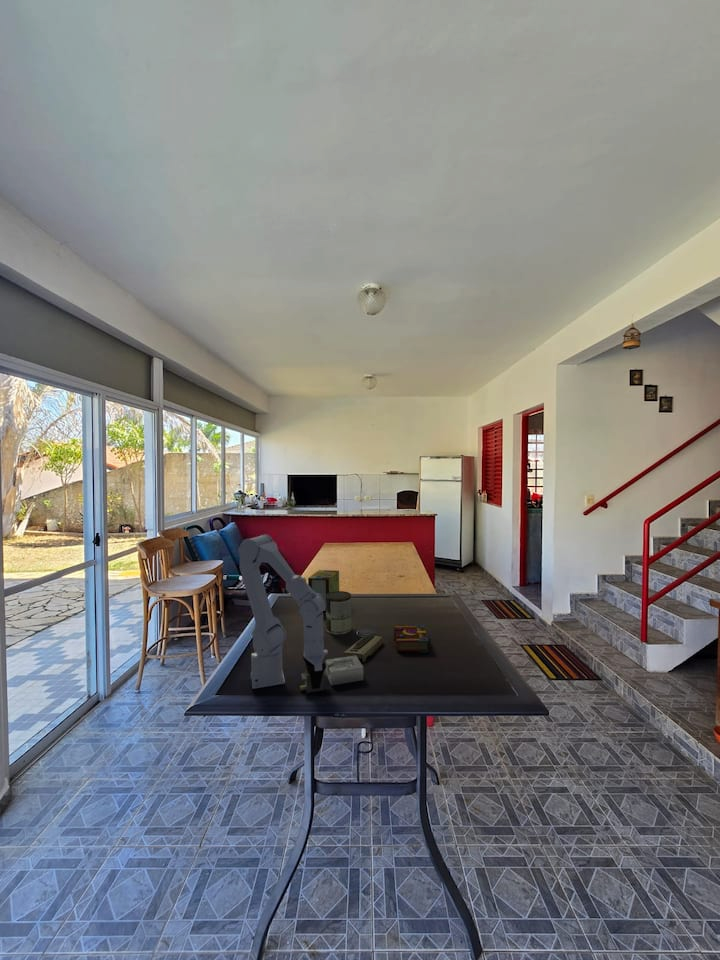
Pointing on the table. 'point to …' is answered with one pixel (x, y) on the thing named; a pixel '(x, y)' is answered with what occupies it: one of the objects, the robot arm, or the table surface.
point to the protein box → (324, 582)
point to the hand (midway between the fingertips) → (314, 683)
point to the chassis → (344, 670)
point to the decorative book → (410, 638)
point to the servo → (307, 680)
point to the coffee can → (338, 612)
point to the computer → (364, 647)
